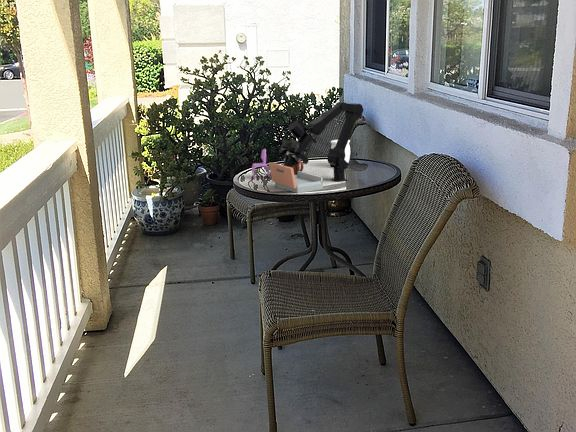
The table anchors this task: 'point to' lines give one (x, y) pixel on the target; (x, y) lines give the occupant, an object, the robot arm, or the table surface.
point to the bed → (304, 183)
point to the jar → (347, 149)
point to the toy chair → (261, 163)
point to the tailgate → (282, 175)
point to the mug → (297, 167)
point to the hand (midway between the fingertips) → (282, 170)
